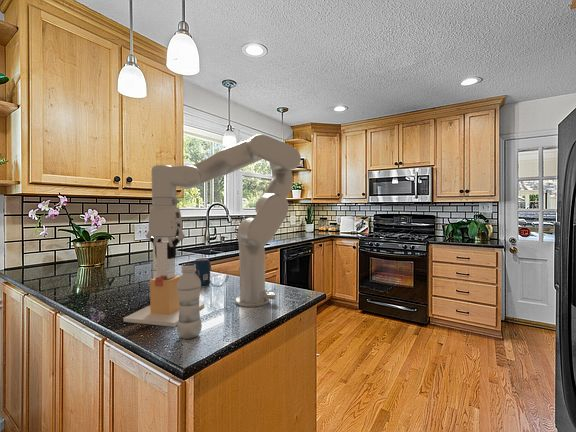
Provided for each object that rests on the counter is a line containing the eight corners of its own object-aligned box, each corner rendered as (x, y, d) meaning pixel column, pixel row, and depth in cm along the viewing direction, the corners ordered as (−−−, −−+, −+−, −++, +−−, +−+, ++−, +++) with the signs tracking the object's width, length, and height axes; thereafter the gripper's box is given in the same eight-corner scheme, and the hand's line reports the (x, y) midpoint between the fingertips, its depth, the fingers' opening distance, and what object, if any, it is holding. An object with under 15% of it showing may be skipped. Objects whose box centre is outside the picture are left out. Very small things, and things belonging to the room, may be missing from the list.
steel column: (176, 305, 102) (174, 241, 101) (168, 309, 98) (167, 242, 97) (164, 304, 103) (163, 241, 102) (156, 308, 99) (155, 242, 98)
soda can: (192, 285, 137) (191, 259, 136) (206, 282, 141) (206, 257, 141) (198, 288, 131) (197, 261, 131) (212, 285, 136) (212, 259, 135)
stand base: (204, 306, 108) (203, 270, 107) (174, 326, 90) (173, 283, 89) (160, 303, 112) (159, 268, 111) (123, 321, 94) (122, 280, 93)
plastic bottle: (172, 341, 80) (171, 267, 80) (184, 330, 87) (183, 262, 86) (194, 342, 79) (193, 267, 79) (205, 332, 86) (204, 263, 85)
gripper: (193, 203, 101) (194, 257, 102) (150, 203, 105) (151, 255, 106) (180, 202, 94) (181, 261, 95) (134, 203, 98) (136, 259, 98)
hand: (165, 257), depth 100 cm, fingers closed on steel column, 4 cm apart
